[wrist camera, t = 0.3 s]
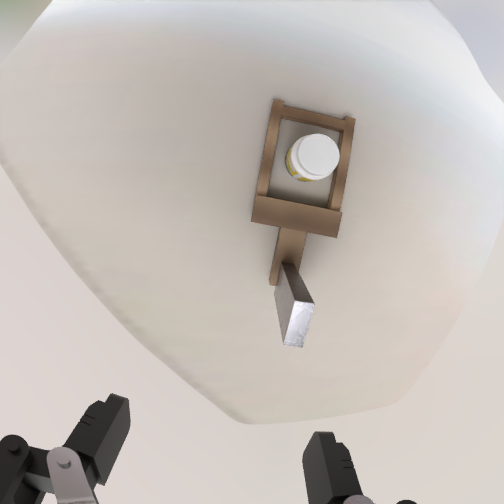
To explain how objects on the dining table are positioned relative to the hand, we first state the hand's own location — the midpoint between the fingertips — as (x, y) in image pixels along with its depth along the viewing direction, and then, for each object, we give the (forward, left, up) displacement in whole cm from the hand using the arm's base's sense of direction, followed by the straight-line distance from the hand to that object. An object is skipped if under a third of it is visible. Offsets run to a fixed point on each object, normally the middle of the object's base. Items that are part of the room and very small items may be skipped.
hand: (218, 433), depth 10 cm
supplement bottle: (-14, +5, -27) cm, 30 cm away
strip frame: (-9, +5, -26) cm, 28 cm away
